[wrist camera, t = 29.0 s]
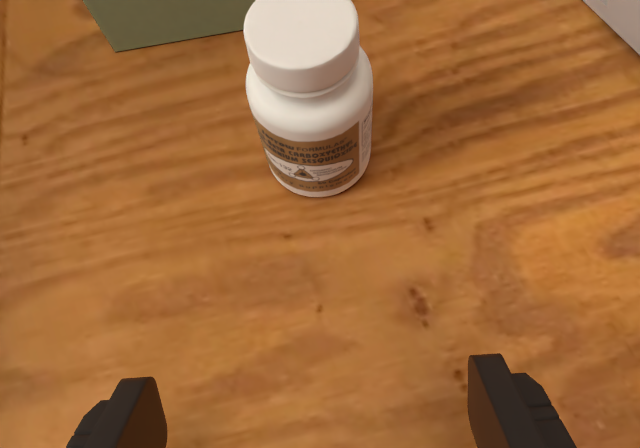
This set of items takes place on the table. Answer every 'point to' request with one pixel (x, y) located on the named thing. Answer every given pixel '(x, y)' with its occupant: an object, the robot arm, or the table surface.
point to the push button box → (165, 20)
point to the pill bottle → (310, 92)
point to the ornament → (620, 18)
